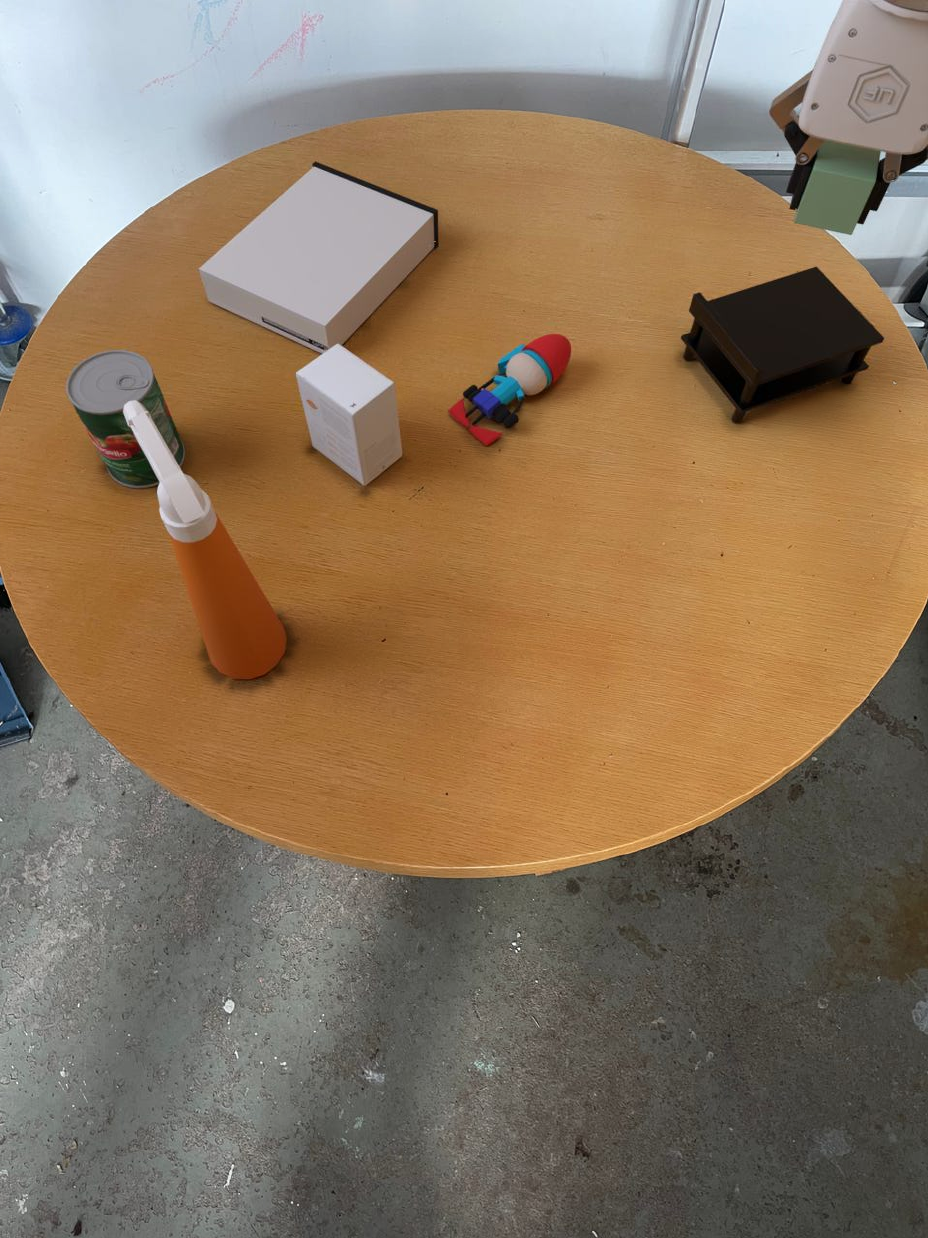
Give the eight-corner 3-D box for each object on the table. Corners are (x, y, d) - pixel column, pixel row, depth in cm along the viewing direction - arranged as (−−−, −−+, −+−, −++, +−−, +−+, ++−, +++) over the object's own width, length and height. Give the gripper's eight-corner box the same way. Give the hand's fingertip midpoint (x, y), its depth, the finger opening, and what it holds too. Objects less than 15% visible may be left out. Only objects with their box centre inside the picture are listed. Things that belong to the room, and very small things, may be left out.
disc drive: (439, 245, 105) (438, 208, 101) (332, 359, 96) (326, 324, 91) (321, 198, 110) (315, 160, 105) (207, 302, 100) (196, 266, 96)
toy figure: (493, 460, 91) (592, 372, 94) (486, 430, 86) (590, 339, 89) (445, 423, 94) (542, 339, 97) (436, 393, 90) (538, 306, 93)
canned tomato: (98, 487, 87) (54, 410, 77) (117, 427, 91) (77, 347, 81) (177, 490, 87) (142, 413, 77) (192, 430, 91) (161, 350, 81)
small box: (403, 457, 89) (397, 382, 80) (364, 488, 87) (353, 415, 78) (350, 416, 92) (338, 340, 83) (310, 446, 90) (293, 371, 81)
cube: (857, 200, 77) (881, 146, 73) (851, 235, 75) (875, 181, 70) (801, 189, 78) (821, 134, 73) (793, 223, 75) (813, 168, 71)
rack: (795, 314, 100) (821, 253, 93) (859, 384, 94) (891, 325, 87) (675, 353, 97) (693, 293, 89) (734, 429, 91) (757, 371, 84)
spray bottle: (248, 570, 82) (167, 362, 59) (301, 656, 78) (235, 467, 55) (179, 605, 80) (67, 404, 57) (228, 695, 76) (129, 515, 53)
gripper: (794, -26, 60) (723, 212, 75) (1054, 18, 57) (924, 255, 73) (809, -75, 63) (738, 163, 79) (1054, -35, 60) (930, 202, 76)
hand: (828, 205), depth 76 cm, fingers closed on cube, 5 cm apart
